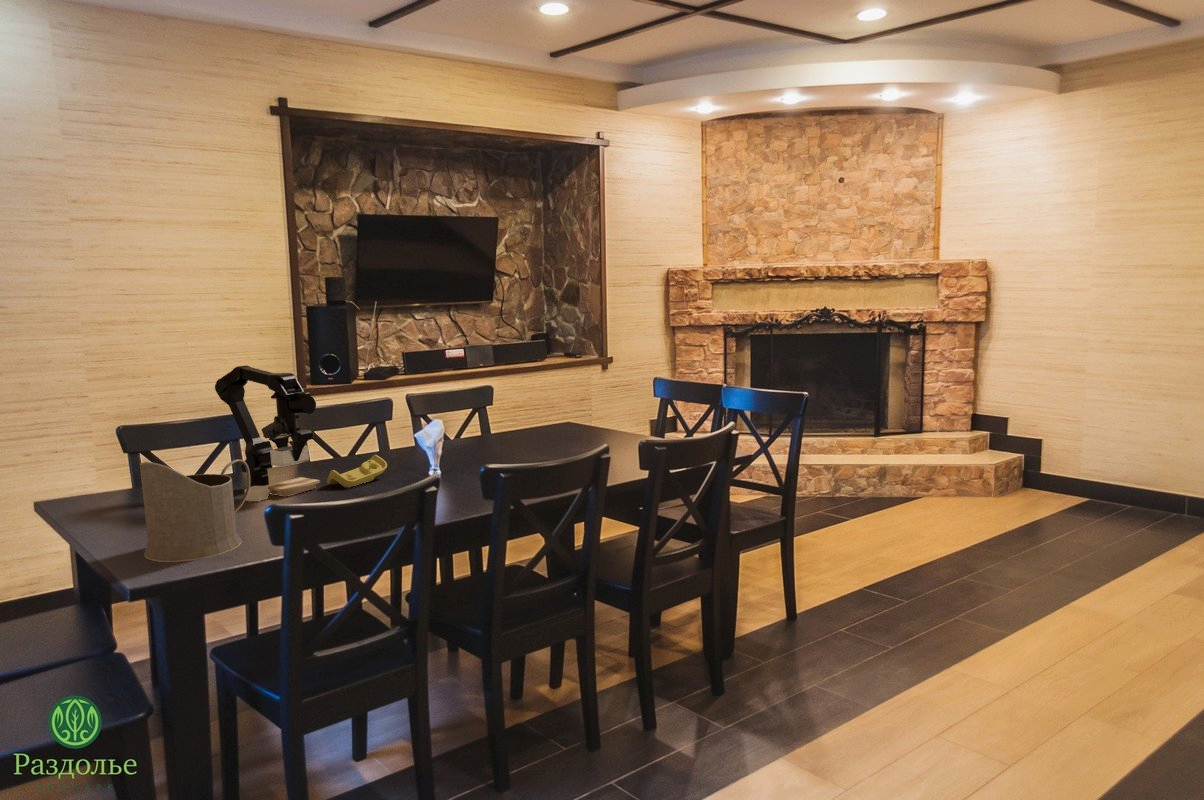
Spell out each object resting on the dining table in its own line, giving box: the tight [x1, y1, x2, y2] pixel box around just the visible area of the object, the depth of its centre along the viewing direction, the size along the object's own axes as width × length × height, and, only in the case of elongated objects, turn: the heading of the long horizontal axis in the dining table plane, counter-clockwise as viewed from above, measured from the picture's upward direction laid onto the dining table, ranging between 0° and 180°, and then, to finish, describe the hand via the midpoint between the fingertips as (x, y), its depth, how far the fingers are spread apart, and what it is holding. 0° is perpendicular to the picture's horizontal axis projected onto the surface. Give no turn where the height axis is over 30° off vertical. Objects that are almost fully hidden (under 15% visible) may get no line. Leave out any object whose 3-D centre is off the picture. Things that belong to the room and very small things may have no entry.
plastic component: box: [326, 454, 388, 488], centre depth 307 cm, size 20×7×10 cm
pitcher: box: [139, 458, 250, 563], centre depth 238 cm, size 23×32×25 cm
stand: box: [266, 476, 321, 496], centre depth 294 cm, size 10×14×3 cm
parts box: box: [243, 486, 270, 500], centre depth 285 cm, size 5×5×4 cm
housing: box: [270, 444, 310, 468], centre depth 292 cm, size 10×6×5 cm, turn 146°
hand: (290, 460), depth 292 cm, fingers closed on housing, 6 cm apart
